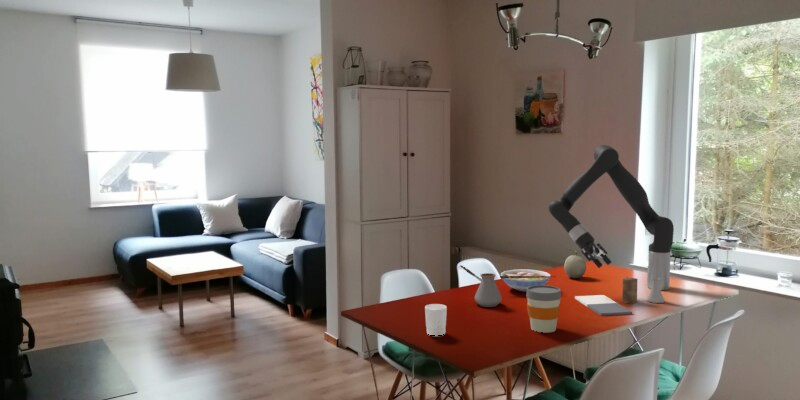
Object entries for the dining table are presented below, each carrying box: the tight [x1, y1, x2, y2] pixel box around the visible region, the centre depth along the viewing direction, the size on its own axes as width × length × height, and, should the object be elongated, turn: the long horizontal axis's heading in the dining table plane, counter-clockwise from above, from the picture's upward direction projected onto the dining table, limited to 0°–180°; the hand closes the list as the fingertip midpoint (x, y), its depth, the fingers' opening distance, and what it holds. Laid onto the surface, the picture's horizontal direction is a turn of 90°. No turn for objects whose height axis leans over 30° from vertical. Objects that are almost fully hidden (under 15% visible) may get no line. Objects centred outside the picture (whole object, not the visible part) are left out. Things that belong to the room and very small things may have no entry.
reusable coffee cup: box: [525, 284, 562, 334], centre depth 222 cm, size 13×13×15 cm
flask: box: [646, 278, 665, 304], centre depth 256 cm, size 7×7×10 cm
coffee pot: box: [459, 265, 503, 308], centre depth 259 cm, size 21×12×15 cm, turn 44°
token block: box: [622, 276, 638, 305], centre depth 256 cm, size 4×4×10 cm
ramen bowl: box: [499, 268, 556, 293], centre depth 279 cm, size 25×23×8 cm
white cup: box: [424, 303, 448, 337], centre depth 219 cm, size 8×8×10 cm
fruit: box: [563, 246, 587, 279], centre depth 301 cm, size 10×12×15 cm
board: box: [574, 294, 633, 317], centre depth 251 cm, size 26×13×1 cm, turn 6°
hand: (605, 265), depth 263 cm, fingers open, 8 cm apart
